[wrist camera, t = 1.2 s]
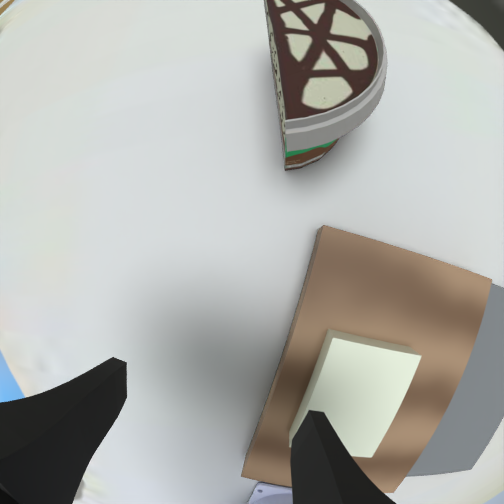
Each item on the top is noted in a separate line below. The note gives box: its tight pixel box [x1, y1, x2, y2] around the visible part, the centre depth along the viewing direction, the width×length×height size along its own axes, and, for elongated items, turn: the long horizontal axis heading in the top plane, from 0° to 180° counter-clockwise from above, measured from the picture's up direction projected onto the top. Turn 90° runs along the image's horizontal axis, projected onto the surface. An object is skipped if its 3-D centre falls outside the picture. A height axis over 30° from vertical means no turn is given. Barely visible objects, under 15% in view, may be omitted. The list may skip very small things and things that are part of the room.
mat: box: [406, 283, 504, 477], centre depth 18 cm, size 20×12×1 cm, turn 165°
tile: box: [289, 329, 421, 458], centre depth 16 cm, size 8×6×2 cm
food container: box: [264, 0, 387, 170], centre depth 15 cm, size 12×6×10 cm, turn 4°
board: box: [241, 225, 492, 493], centre depth 18 cm, size 20×14×3 cm
